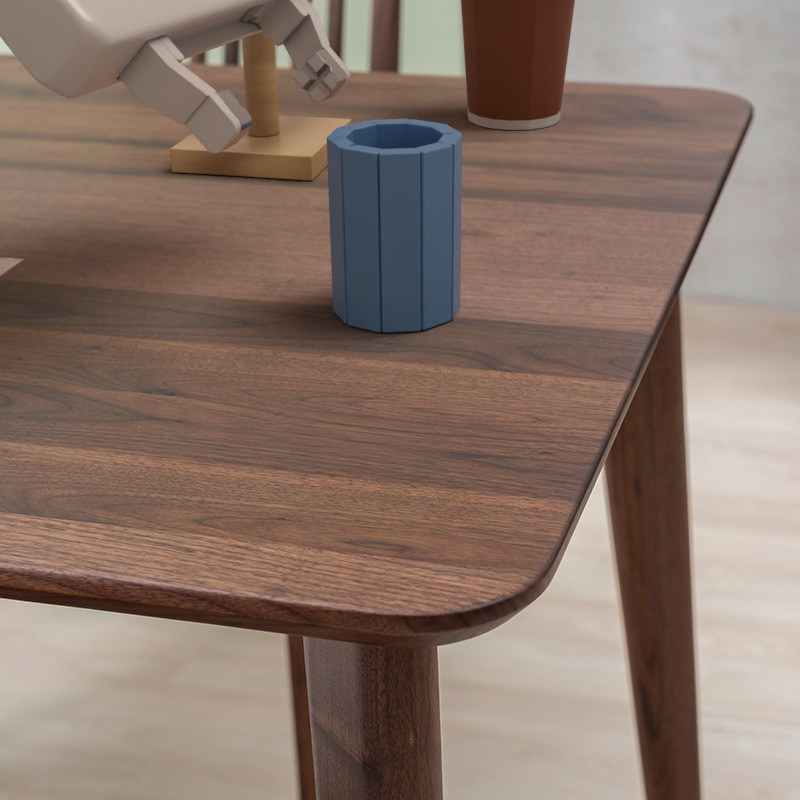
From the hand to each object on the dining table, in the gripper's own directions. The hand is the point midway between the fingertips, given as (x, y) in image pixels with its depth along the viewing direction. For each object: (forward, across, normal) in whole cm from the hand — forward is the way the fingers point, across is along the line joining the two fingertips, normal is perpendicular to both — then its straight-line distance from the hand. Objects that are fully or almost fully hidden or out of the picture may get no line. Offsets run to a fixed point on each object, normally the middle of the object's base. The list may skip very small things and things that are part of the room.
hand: (289, 114), depth 55 cm
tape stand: (-3, +21, +15) cm, 26 cm away
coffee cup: (+5, +35, +7) cm, 36 cm away
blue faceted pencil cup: (+9, +1, +3) cm, 10 cm away
